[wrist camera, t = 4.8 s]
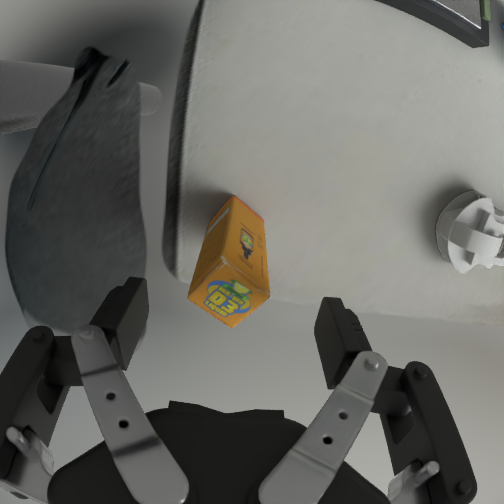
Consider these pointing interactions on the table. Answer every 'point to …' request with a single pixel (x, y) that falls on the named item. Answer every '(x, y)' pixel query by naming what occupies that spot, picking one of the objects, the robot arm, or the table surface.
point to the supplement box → (232, 265)
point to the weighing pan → (461, 10)
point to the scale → (448, 20)
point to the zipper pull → (471, 232)
